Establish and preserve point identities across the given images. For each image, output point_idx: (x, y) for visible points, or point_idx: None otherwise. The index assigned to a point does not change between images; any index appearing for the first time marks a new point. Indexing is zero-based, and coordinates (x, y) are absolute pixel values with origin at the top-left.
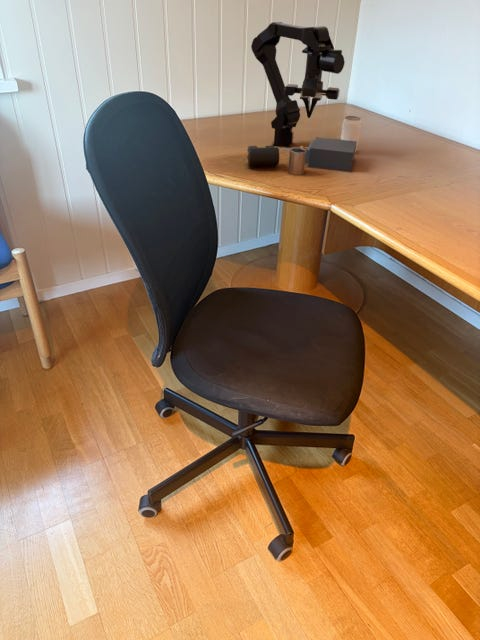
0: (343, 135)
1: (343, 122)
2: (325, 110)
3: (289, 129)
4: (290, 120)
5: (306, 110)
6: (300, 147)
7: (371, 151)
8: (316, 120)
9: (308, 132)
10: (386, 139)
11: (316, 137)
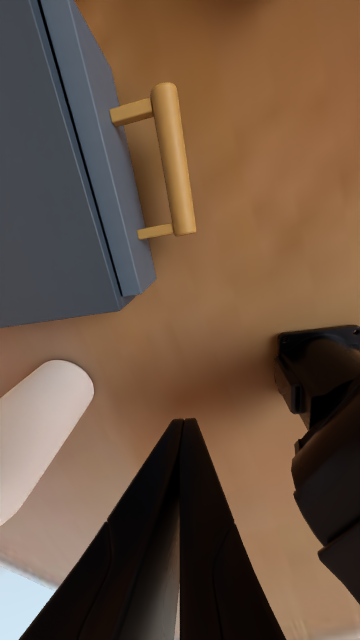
0: (35, 407)
1: (4, 475)
2: None
3: (320, 394)
4: (356, 412)
5: (215, 486)
6: (182, 190)
7: None
8: None
9: (251, 501)
10: (41, 507)
11: (116, 303)
